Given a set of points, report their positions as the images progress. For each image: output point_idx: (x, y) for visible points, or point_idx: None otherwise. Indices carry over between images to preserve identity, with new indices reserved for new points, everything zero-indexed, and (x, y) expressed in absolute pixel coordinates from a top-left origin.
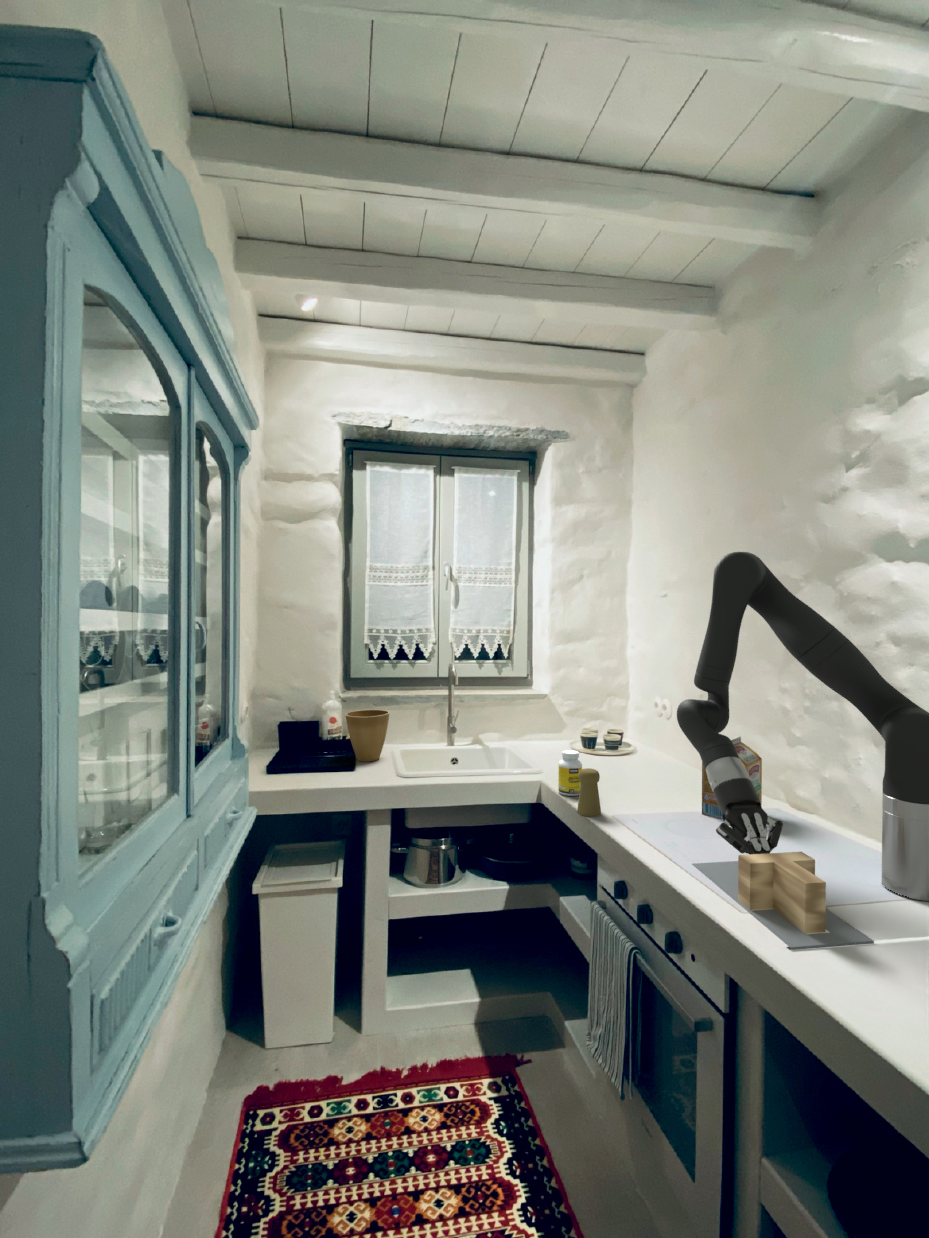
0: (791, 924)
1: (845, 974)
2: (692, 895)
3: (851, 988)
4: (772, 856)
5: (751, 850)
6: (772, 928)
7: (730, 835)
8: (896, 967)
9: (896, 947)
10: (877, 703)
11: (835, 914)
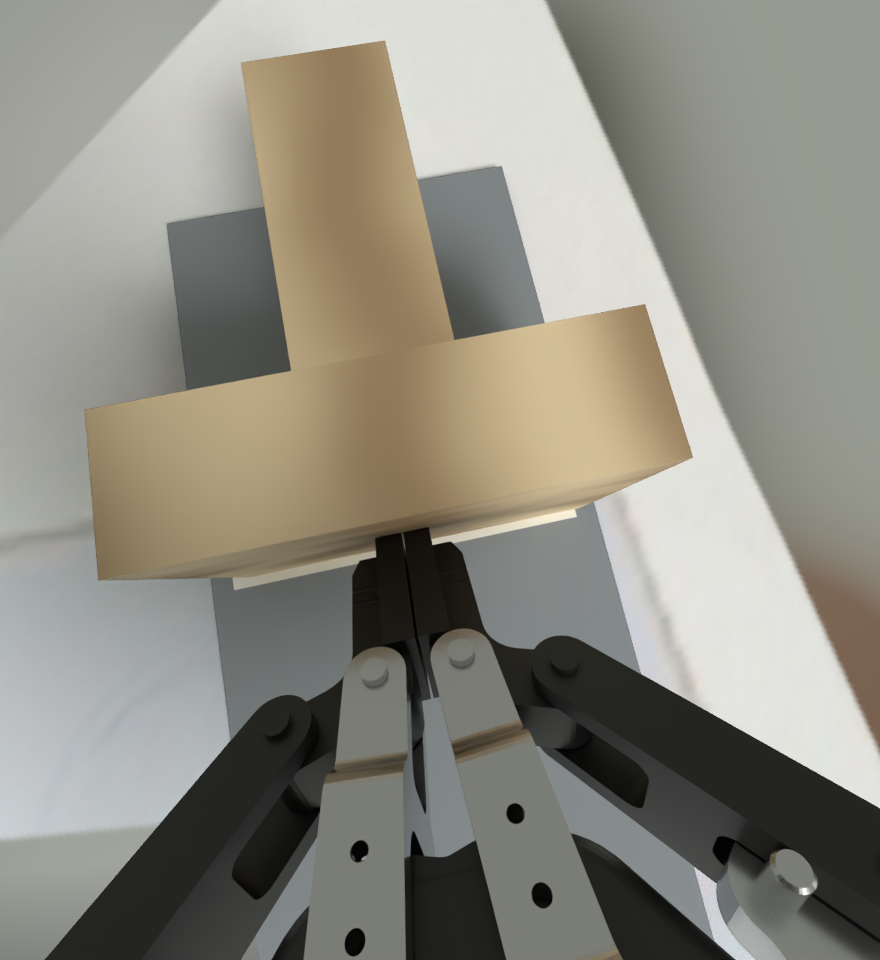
0: None
1: None
2: (772, 565)
3: (406, 7)
4: (415, 447)
5: (514, 649)
6: (514, 281)
7: (754, 750)
8: (196, 105)
9: (106, 212)
10: None
11: None
